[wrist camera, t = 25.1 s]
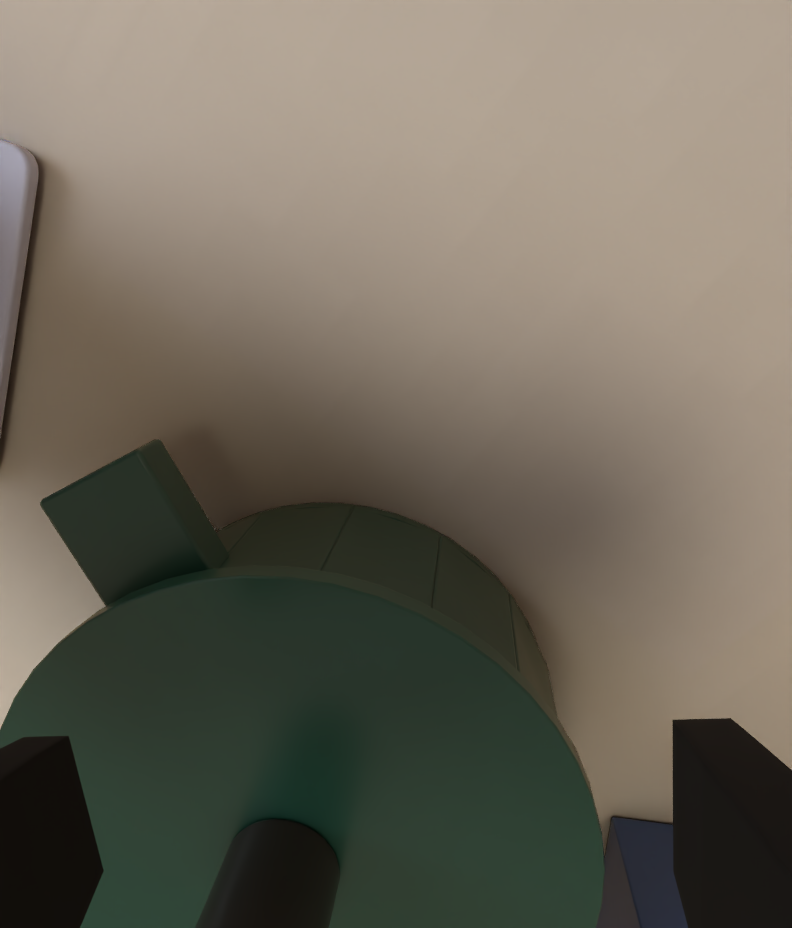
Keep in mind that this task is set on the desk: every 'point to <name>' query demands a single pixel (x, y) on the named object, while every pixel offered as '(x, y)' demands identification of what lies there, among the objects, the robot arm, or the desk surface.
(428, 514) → the desk surface
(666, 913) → the block
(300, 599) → the lid
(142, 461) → the pot
